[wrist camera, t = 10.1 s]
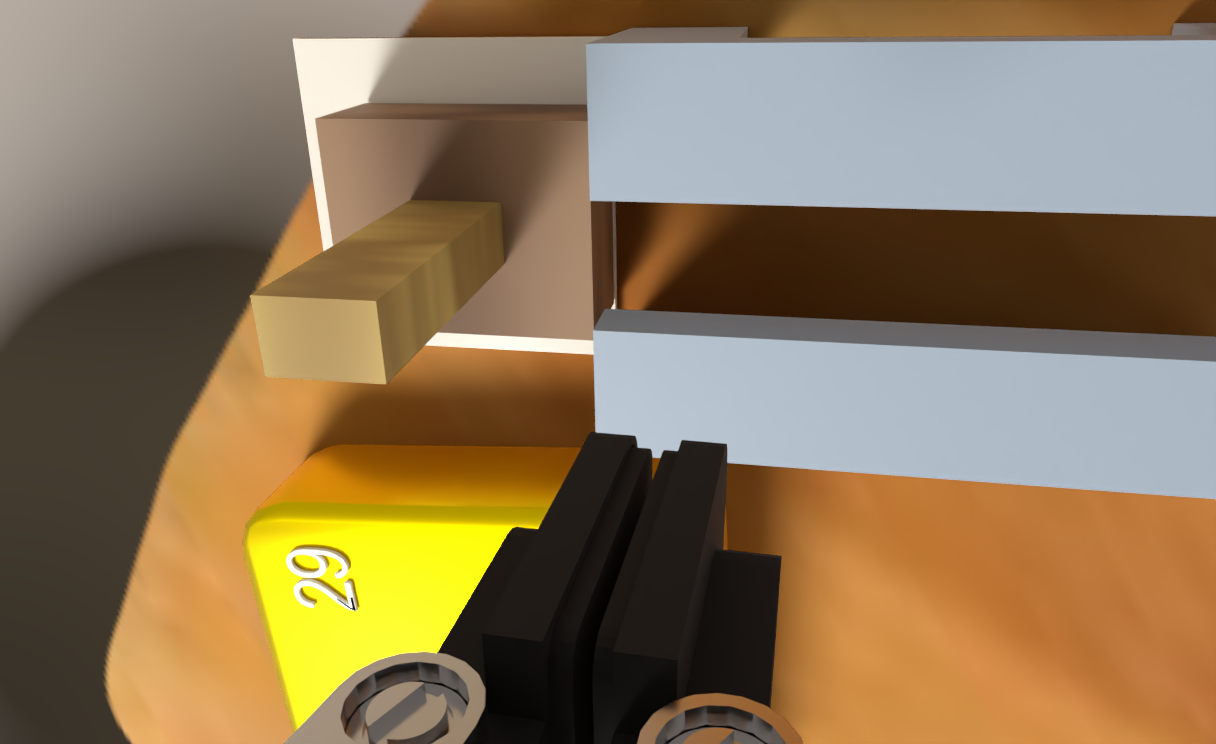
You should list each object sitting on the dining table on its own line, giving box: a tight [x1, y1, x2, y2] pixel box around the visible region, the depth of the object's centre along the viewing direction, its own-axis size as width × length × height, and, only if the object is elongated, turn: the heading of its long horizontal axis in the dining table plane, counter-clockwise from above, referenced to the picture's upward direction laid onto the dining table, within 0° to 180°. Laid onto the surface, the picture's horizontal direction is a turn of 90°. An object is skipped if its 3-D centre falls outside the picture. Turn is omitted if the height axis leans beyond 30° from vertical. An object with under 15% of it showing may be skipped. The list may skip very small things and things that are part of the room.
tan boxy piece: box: [250, 103, 614, 384], centre depth 21 cm, size 7×6×11 cm
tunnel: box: [586, 23, 1216, 499], centre depth 21 cm, size 16×9×6 cm, turn 91°
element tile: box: [242, 444, 728, 733], centre depth 31 cm, size 15×15×5 cm
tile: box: [293, 36, 617, 354], centre depth 26 cm, size 9×9×1 cm
